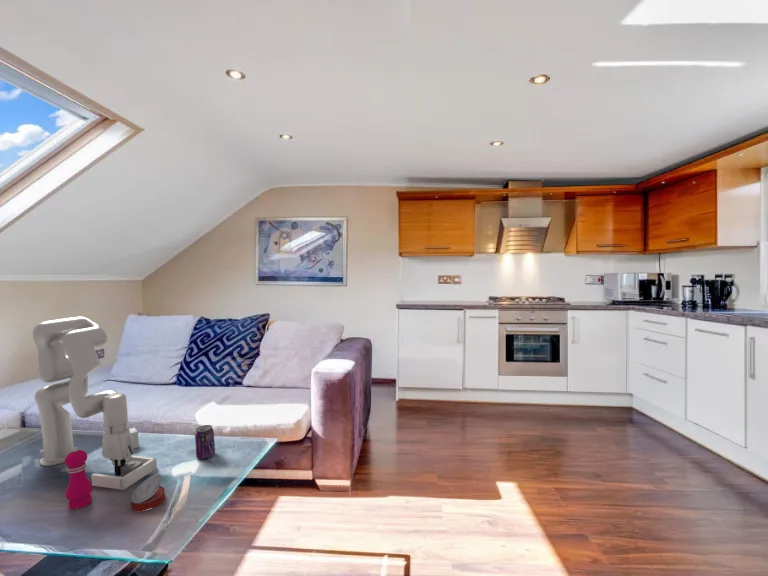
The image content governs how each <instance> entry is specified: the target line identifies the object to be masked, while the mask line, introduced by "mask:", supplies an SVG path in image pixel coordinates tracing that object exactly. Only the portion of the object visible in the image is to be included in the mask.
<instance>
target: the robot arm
mask: <svg viewBox="0 0 768 576" xmlns="http://www.w3.org/2000/svg"><path fill="white" fill-rule="evenodd" d="M32 338H33V342H34V344H35V346H36V349H37V353H38V354H37V357H38V361H37V362H38V374H39V379H40V380H41V381H42V382H43V383H45V384H46V383H47V384H48V383H51V384H48V385H46V386H45V385H44V386H42V387H40V389H38V390H37V391H36V392H35V394H34V401H35V403H36V406H37V410H38V413H39V418H40V427H41V435H42V437H41V438H42V445H43V446H42V447H43V449H41V450H40V451H39V453H40V454H41V455H42V454H43V457H41V459H40V460H39V464H40V466H43V467H50V466H51V467H52V465H53V466H57V464H58V465H61V464H65V458H66V456H67V455H68V454H69V453H71V452H72V448H73V447H75V446H74V440H73V430H72V429H73V428H72V427H73V425H72V417H71V413H70V412H69V411H68V410H67V409H66V408H64V407H63V406H65V405H67V404H70V405H71V408H72V409H73V411H74V413H75V415H76V416H78V417H79V418H82V419H83V418H84V419H85V418H89V417H93V416H95V415H99V414H101V413H102V416H103V417H102V418H103V428H104V429H103V430H104V431H103V433H102V437H101V438H102V441H101V451H102V457H103V458H104V459H109V460H110V461H111V463H112V465H113V466H114V467H113V469H114V476H118V477H121V468H120V467H122V466H124V465H125V463H126V462H127V461H130V460H131V459H132V456H131V455H133V454H134V449H133V443H132V437H131V433H130V430H129V429H130V428H129V415H128V402H127V396H126V394H125V393H121V392H118V391H116V390H114V389H106V390H103V391H100V392H96V393H93V394H89V395H87V394H88V390H89V379H88V378H89V377H88V376H89V375H90V374H91V373H93V372H94V371H96V370H98V369H99V367H100V366H101V361H100V358H99V357H98V354H97V352H96V348H100V347H104V346H105V345H106V344H107V342H108V335H107V333H106V331H105V330H104V328H103V327H102V326H101V325H99V324H98V323H96V322H94V321H92V320H91V319H90V318H88V317H85V316H74V317H66V318H58V319H51V320H47V321H46V320H45V321H42V322H40V323H38V324H36V325H35V326H34V328H33V330H32ZM55 382H56V383H55Z"/></svg>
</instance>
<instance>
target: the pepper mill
mask: <svg viewBox="0 0 768 576" xmlns="http://www.w3.org/2000/svg"><path fill="white" fill-rule="evenodd" d="M87 460H88V453H87V452H86V451H85V450H83V449H80V448H79V447H78V446H74V447H73V448H72V452H71V453H69V454H68V455H67V456H66V458H65V463H64V465H65V467H67V473H68V474H69V483H68V484H67V487H66V490H65V499H66V500H67V501H68V502H67V503H68V509H69V508H70V509H69V510H72V509H74V510H77V509H76V508H80V509H82V508H85V507H86V506H88V505H90V504H91V502H92V501H93V497H92V496H93V495H92V492H93V486H92V481H90V479H89V478H88V476H87V473H86V468H87V463H86V462H87Z"/></svg>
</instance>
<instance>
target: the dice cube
mask: <svg viewBox="0 0 768 576" xmlns="http://www.w3.org/2000/svg"><path fill="white" fill-rule="evenodd" d="M141 465H143V462H139V461H131V462H129V463H127V464H126V465H124V466H122V467H120V468H121V475H120V477H123V476H125V475H127V474H128V473H130V472H132V471H133V470H135V469H136V468H138V467H140V466H141Z"/></svg>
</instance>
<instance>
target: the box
mask: <svg viewBox="0 0 768 576" xmlns="http://www.w3.org/2000/svg"><path fill="white" fill-rule="evenodd" d="M131 456H132V459H131V460H130V461H127V462H126V463H125V465H126V464H127V463H129V462H131V461H139V462H143V465H141V466H140V467H138V468H136V469H135V470H133V471H132V472H130V473H128V474H127V475H125V476H123V477H121V476H115V475H111V474H110V475H109V474H102V473H92V474H91V475H90V477H91V484H92V487H93V486H94V487H100V488H107V489H112V490H120V491H124V490H126V489H127V488H128V487H130V486H132V485H134V483H136V482H138V481H139V480H141V479H142V478H144V477H145V476H147V475H149V474H150V473H151V472H153V471H155V470H157V468H158V467H157V465H158V464H157V458H156V457H149V456H140V455H133V454H132V455H131Z"/></svg>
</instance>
